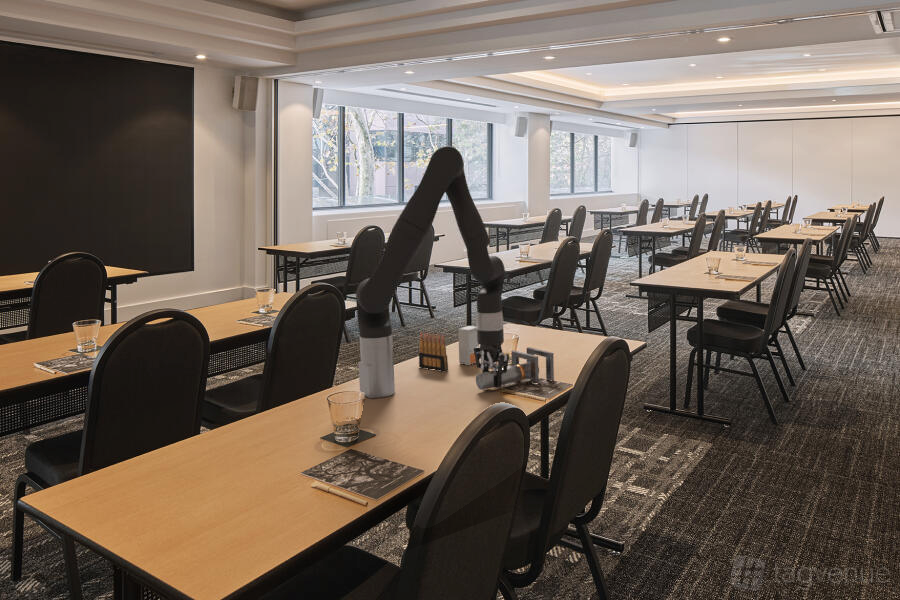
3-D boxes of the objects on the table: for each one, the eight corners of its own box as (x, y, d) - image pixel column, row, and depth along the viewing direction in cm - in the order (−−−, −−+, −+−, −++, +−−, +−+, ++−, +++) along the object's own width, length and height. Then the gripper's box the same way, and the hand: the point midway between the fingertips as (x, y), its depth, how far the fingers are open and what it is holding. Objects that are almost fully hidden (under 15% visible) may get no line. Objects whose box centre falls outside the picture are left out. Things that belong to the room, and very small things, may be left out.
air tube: (485, 391, 207) (485, 375, 207) (476, 388, 211) (475, 372, 210) (539, 378, 218) (539, 362, 218) (529, 375, 222) (528, 360, 221)
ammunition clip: (419, 367, 240) (417, 331, 238) (422, 366, 241) (420, 330, 239) (444, 372, 233) (443, 335, 231) (448, 370, 235) (446, 333, 233)
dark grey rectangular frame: (550, 381, 218) (550, 353, 216) (527, 374, 226) (526, 347, 225) (553, 380, 218) (553, 353, 217) (530, 373, 227) (529, 347, 226)
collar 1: (535, 385, 214) (535, 357, 213) (512, 378, 223) (511, 351, 222) (538, 384, 215) (538, 356, 214) (515, 377, 224) (514, 350, 222)
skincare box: (469, 366, 239) (468, 330, 237) (458, 364, 242) (457, 328, 240) (480, 362, 244) (478, 326, 242) (469, 360, 247) (468, 325, 245)
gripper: (464, 325, 212) (466, 382, 215) (495, 332, 201) (497, 393, 203) (485, 321, 216) (487, 378, 219) (516, 328, 205) (518, 388, 208)
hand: (492, 385), depth 211 cm, fingers closed on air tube, 4 cm apart
